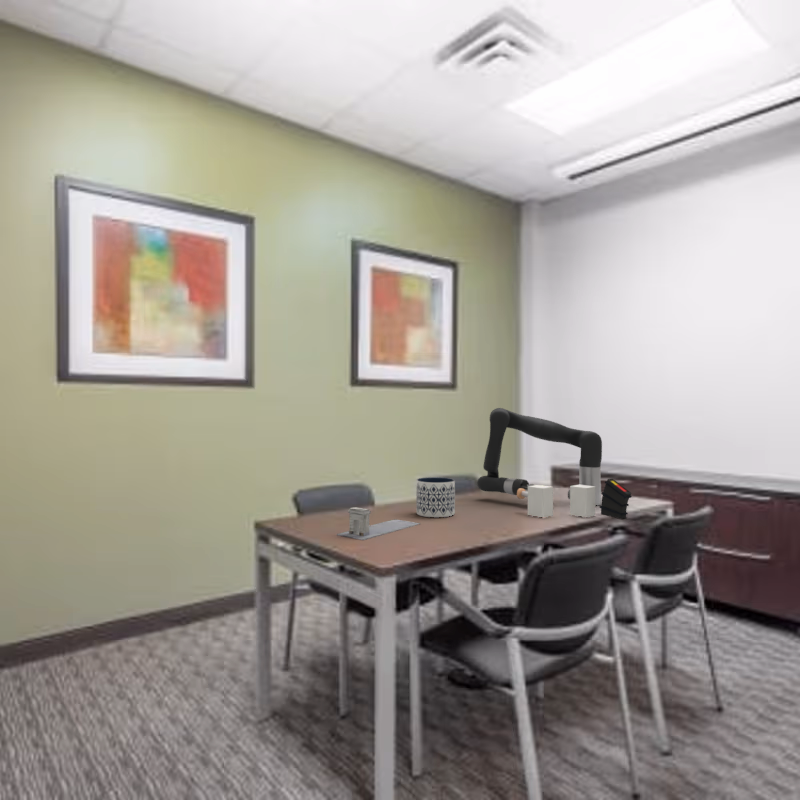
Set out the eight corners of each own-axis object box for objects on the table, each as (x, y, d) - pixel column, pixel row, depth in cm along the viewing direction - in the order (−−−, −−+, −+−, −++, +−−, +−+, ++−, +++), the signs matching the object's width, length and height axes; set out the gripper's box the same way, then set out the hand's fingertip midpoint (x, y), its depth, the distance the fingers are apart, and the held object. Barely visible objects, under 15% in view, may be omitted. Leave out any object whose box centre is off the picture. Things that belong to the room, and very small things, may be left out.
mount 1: (537, 513, 250) (537, 484, 250) (553, 516, 244) (553, 486, 244) (527, 515, 245) (527, 486, 245) (543, 518, 239) (543, 488, 239)
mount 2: (579, 512, 251) (579, 484, 251) (595, 515, 245) (595, 486, 245) (569, 515, 246) (570, 486, 246) (586, 517, 241) (586, 488, 241)
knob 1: (523, 497, 253) (523, 487, 253) (539, 500, 247) (539, 489, 247) (516, 499, 250) (516, 488, 250) (533, 501, 244) (533, 491, 244)
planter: (412, 511, 253) (413, 477, 253) (449, 510, 256) (449, 476, 256) (420, 518, 238) (421, 482, 238) (459, 517, 241) (459, 482, 241)
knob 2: (573, 498, 251) (573, 488, 251) (591, 501, 245) (591, 490, 245) (567, 500, 248) (567, 489, 248) (585, 502, 242) (586, 492, 242)
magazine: (600, 508, 253) (612, 478, 247) (623, 526, 242) (636, 496, 237) (594, 509, 251) (606, 478, 245) (616, 527, 241) (629, 496, 235)
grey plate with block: (336, 536, 209) (336, 508, 209) (394, 521, 235) (394, 496, 235) (363, 541, 201) (363, 512, 201) (420, 525, 227) (420, 499, 227)
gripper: (507, 479, 266) (540, 484, 253) (525, 477, 275) (557, 481, 262) (507, 496, 266) (540, 501, 253) (524, 493, 275) (557, 498, 262)
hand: (549, 491), depth 257 cm, fingers closed
